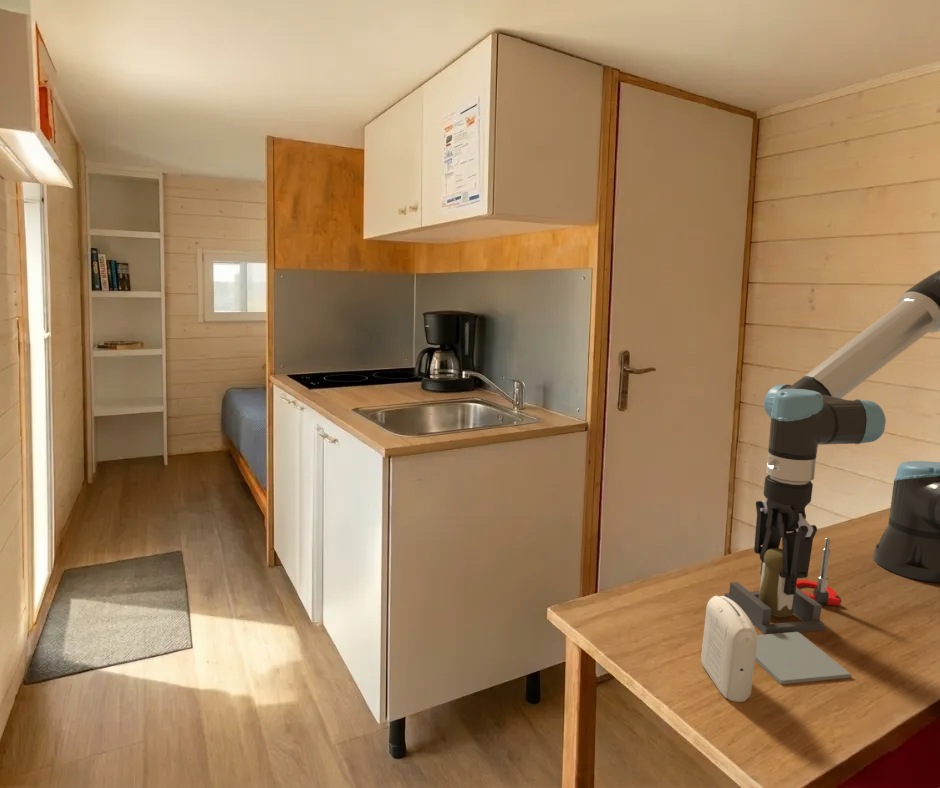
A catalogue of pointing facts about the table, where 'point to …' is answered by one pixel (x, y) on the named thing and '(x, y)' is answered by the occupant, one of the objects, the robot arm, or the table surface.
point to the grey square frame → (761, 612)
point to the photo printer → (729, 648)
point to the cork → (773, 582)
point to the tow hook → (822, 582)
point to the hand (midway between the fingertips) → (775, 601)
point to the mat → (795, 659)
